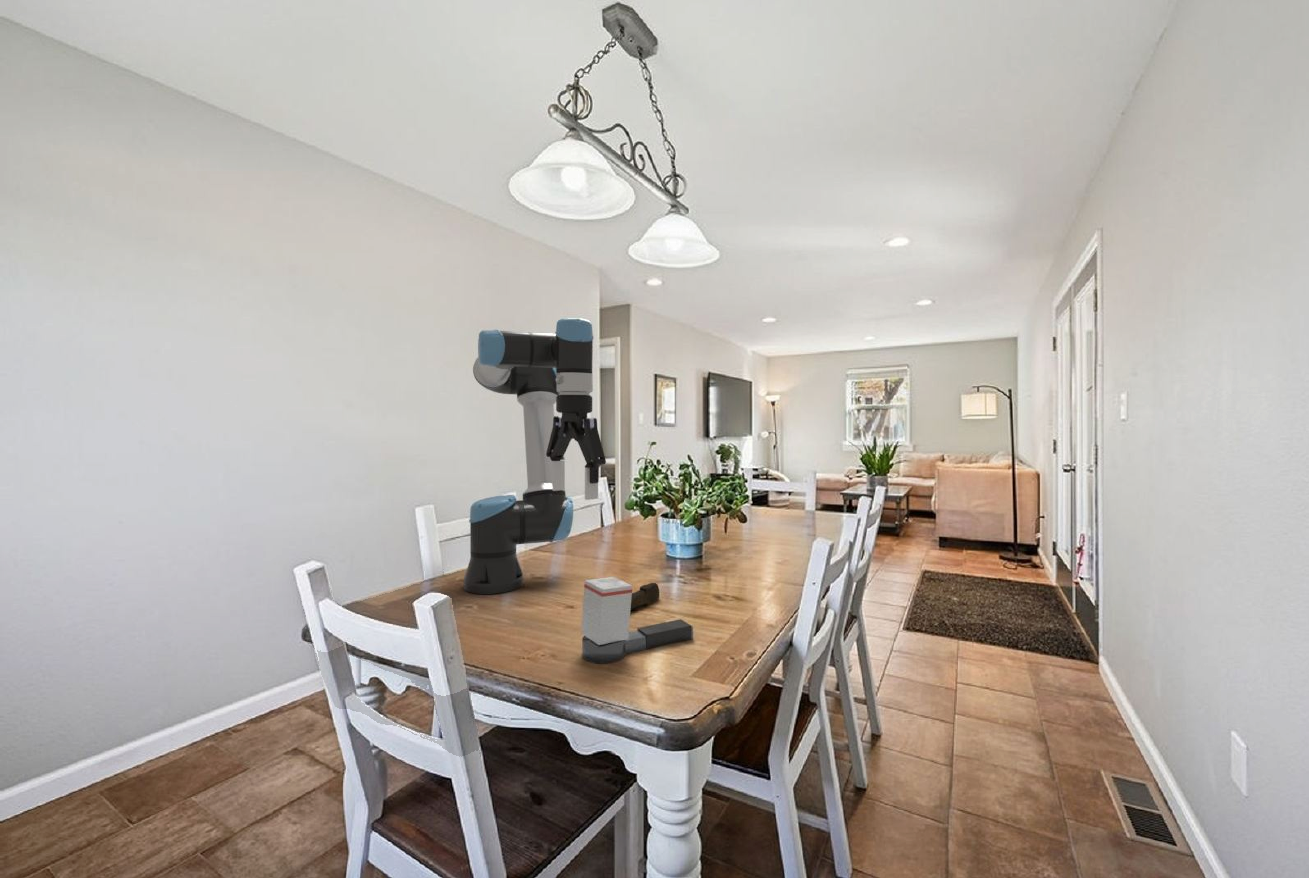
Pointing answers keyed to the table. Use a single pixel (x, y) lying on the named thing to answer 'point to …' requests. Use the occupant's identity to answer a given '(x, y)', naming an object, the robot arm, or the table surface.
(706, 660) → the table surface
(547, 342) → the robot arm
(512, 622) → the table surface
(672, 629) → the ratchet
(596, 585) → the red-striped grey block
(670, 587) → the table surface
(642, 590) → the hand tool
